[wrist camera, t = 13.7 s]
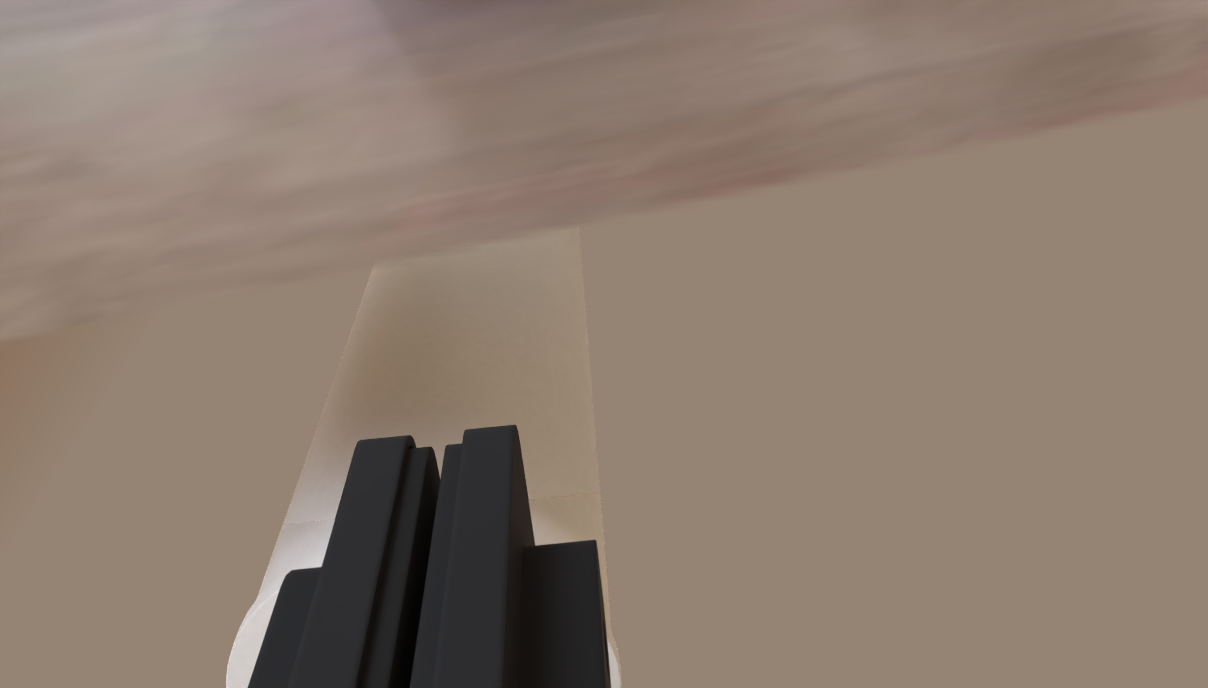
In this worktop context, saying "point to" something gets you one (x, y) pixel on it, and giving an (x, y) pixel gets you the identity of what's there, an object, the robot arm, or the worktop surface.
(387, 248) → the worktop surface
